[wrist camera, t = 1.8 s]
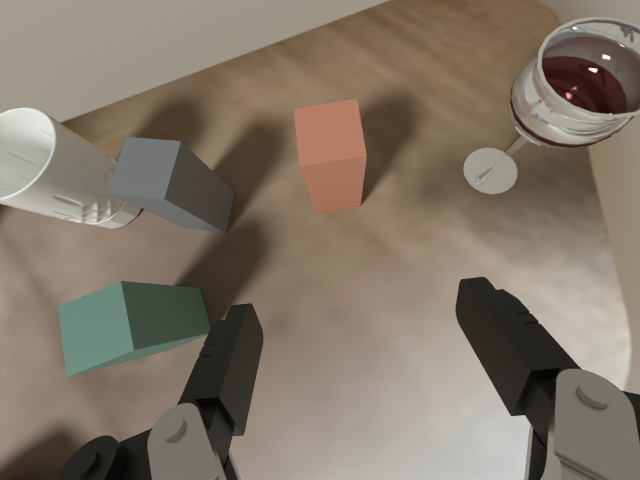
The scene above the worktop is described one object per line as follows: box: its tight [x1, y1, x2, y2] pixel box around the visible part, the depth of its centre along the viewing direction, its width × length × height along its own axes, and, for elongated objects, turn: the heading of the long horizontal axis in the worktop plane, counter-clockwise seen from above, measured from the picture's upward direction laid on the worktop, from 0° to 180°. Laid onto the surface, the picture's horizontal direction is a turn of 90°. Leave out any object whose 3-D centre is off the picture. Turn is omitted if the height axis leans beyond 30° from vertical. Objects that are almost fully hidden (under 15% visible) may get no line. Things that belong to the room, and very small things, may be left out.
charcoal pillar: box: [107, 137, 235, 233], centre depth 24 cm, size 4×4×10 cm
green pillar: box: [58, 281, 211, 377], centre depth 21 cm, size 4×4×10 cm
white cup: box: [0, 107, 142, 229], centre depth 25 cm, size 8×8×10 cm
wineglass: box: [463, 16, 640, 194], centre depth 20 cm, size 7×7×12 cm
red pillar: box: [294, 98, 367, 212], centre depth 23 cm, size 4×4×10 cm
